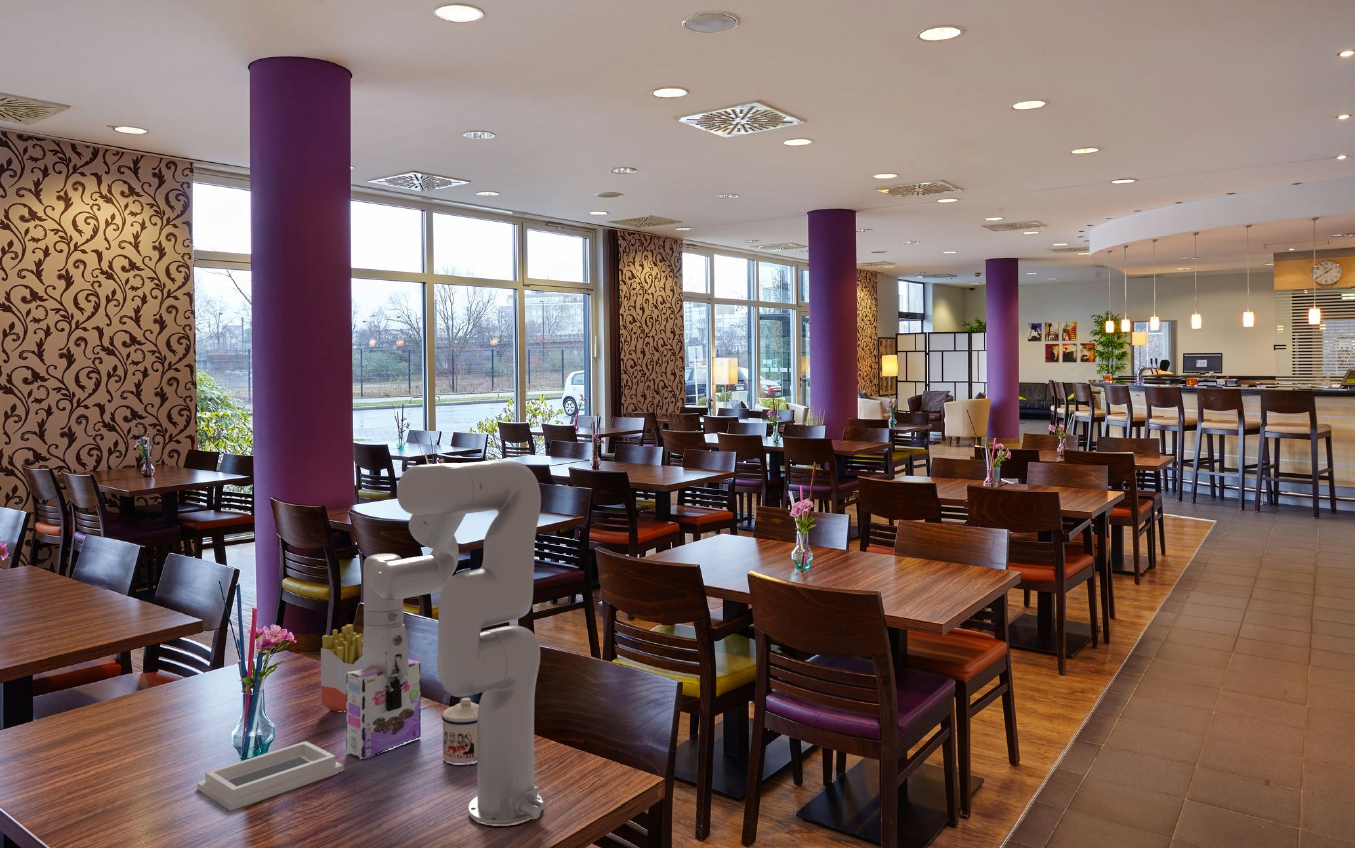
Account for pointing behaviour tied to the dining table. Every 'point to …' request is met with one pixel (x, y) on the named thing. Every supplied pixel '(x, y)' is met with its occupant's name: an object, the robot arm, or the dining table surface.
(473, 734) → the teacup with lid
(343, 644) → the french fries container
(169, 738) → the dining table surface
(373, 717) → the candy box
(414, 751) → the dining table surface
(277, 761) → the grey rectangular tray
